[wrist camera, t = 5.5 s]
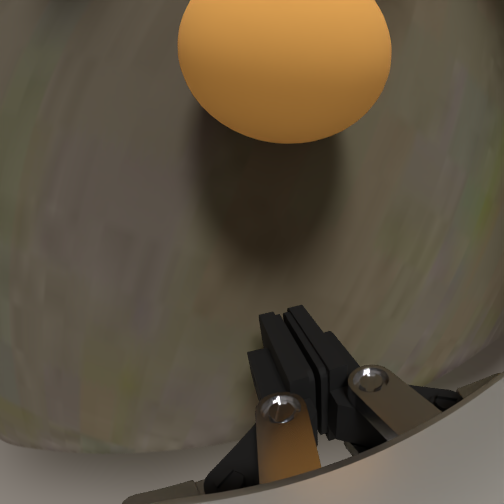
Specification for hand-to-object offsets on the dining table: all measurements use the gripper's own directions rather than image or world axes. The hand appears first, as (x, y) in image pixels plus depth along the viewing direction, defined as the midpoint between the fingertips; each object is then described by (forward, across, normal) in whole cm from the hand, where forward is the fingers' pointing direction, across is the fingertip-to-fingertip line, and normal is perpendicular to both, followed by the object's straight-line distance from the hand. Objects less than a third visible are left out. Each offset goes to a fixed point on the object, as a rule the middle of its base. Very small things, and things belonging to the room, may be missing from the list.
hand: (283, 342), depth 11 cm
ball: (-1, -1, -10) cm, 10 cm away
